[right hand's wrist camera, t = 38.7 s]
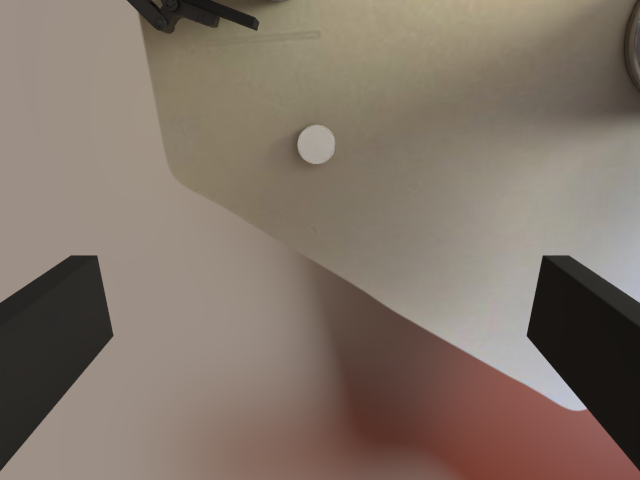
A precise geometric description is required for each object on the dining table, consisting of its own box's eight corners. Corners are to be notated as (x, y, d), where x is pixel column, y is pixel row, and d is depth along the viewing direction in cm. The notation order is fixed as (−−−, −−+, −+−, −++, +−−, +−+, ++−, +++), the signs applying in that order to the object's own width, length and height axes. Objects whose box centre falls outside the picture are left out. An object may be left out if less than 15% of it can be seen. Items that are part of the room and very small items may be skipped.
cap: (332, 163, 48) (332, 166, 46) (296, 159, 48) (295, 161, 46) (337, 126, 47) (337, 128, 45) (300, 121, 46) (299, 123, 45)
